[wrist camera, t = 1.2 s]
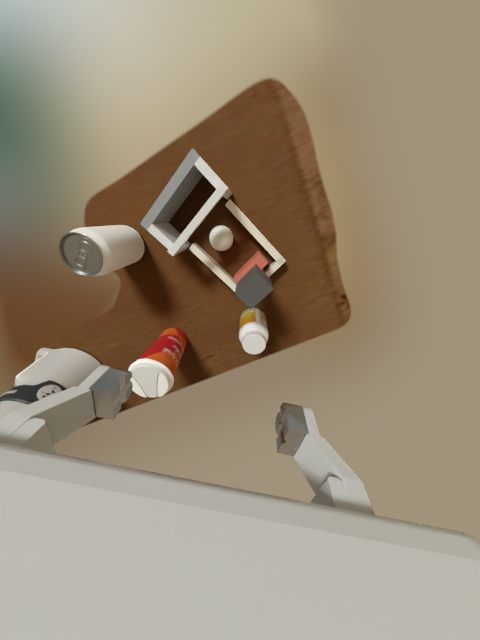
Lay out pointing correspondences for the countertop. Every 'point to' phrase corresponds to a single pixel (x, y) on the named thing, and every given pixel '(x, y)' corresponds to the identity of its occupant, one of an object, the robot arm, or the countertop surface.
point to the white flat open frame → (258, 236)
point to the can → (100, 249)
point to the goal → (175, 197)
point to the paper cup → (158, 364)
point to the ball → (221, 238)
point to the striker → (253, 281)
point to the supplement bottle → (253, 331)
